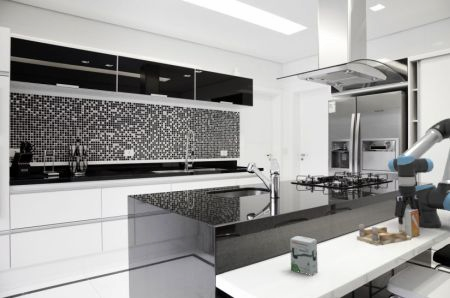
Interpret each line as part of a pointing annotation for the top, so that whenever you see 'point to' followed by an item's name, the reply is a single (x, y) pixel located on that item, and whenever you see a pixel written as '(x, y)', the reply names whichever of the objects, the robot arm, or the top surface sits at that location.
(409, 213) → the small box
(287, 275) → the top surface
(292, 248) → the ink box
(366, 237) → the board
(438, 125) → the robot arm
